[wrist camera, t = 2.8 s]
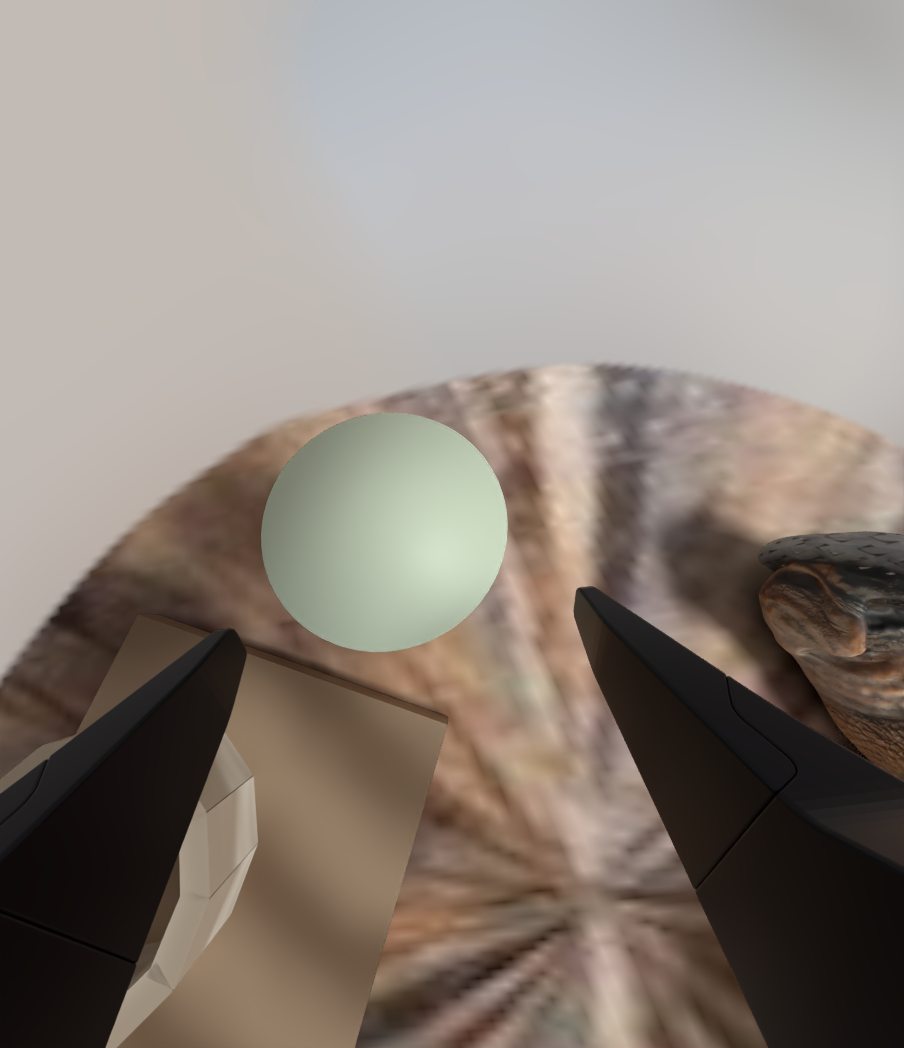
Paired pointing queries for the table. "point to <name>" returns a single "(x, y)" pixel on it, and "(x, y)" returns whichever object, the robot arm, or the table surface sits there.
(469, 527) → the pale green peg
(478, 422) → the table surface
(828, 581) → the dark brown lumpy piece
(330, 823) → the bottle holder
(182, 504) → the table surface
